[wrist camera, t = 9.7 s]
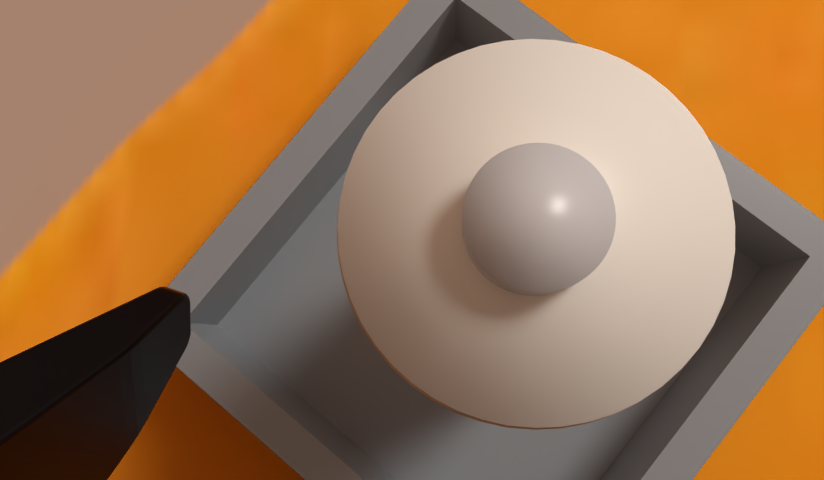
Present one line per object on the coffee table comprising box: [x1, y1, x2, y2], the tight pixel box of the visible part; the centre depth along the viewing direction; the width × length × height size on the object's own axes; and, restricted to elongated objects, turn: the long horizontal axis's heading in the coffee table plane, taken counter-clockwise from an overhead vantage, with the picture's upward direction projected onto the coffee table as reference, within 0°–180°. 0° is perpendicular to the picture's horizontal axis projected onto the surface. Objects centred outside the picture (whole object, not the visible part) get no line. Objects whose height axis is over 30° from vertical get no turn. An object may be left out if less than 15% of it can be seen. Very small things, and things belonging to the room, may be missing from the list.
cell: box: [337, 39, 735, 430], centre depth 15 cm, size 5×5×14 cm
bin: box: [168, 0, 824, 480], centre depth 21 cm, size 14×14×4 cm
